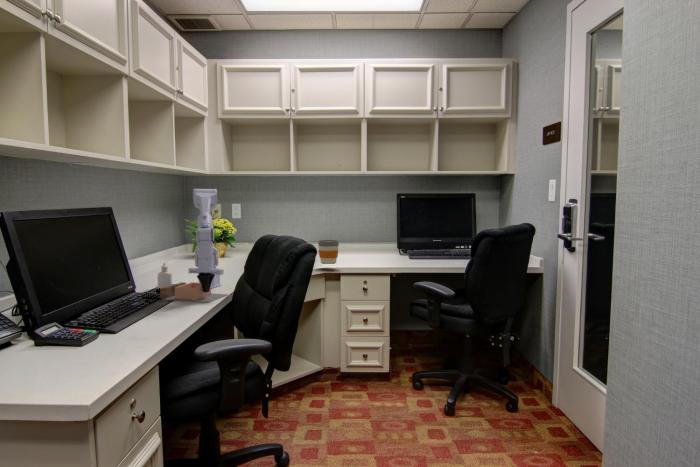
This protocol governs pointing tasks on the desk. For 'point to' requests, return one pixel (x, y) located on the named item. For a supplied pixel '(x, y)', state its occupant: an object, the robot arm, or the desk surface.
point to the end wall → (169, 291)
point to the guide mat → (203, 299)
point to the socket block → (190, 291)
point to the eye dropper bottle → (164, 277)
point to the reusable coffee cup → (328, 251)
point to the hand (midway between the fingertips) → (206, 291)
